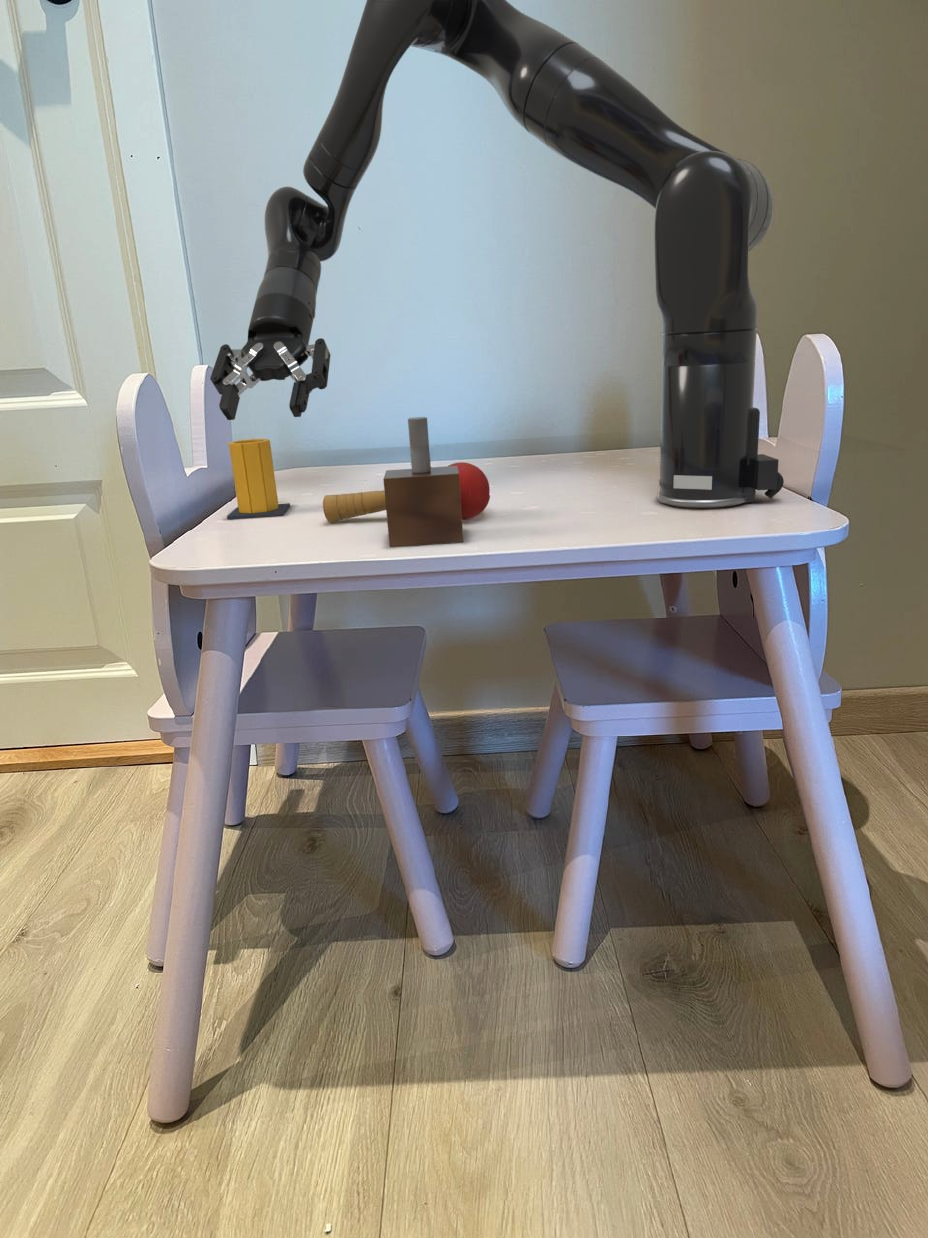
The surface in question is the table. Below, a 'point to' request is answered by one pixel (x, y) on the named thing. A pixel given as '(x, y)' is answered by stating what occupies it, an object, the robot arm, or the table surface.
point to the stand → (422, 497)
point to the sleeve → (253, 475)
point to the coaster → (276, 512)
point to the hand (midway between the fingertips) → (261, 414)
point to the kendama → (358, 504)
